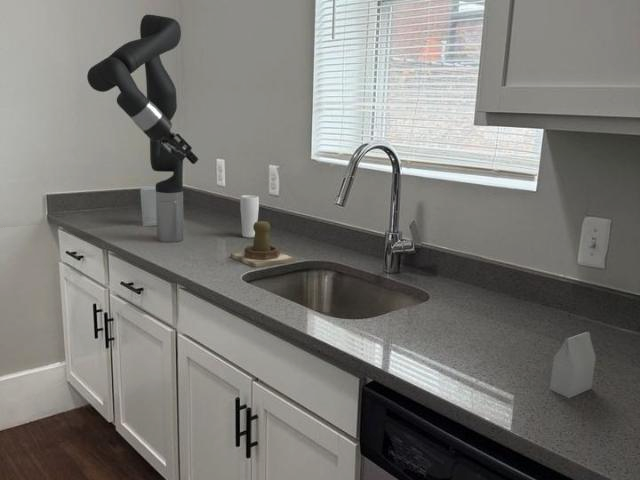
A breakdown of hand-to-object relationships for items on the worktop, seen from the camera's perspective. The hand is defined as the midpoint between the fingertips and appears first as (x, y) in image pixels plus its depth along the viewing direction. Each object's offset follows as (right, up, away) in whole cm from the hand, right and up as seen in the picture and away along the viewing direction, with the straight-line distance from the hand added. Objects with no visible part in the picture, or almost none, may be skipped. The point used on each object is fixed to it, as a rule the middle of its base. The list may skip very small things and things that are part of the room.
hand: (189, 160), depth 172 cm
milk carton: (+83, -50, -70) cm, 119 cm away
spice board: (+20, -30, +11) cm, 38 cm away
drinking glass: (+13, -22, +43) cm, 50 cm away
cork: (+20, -29, +10) cm, 37 cm away
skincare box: (-28, -18, +58) cm, 67 cm away
